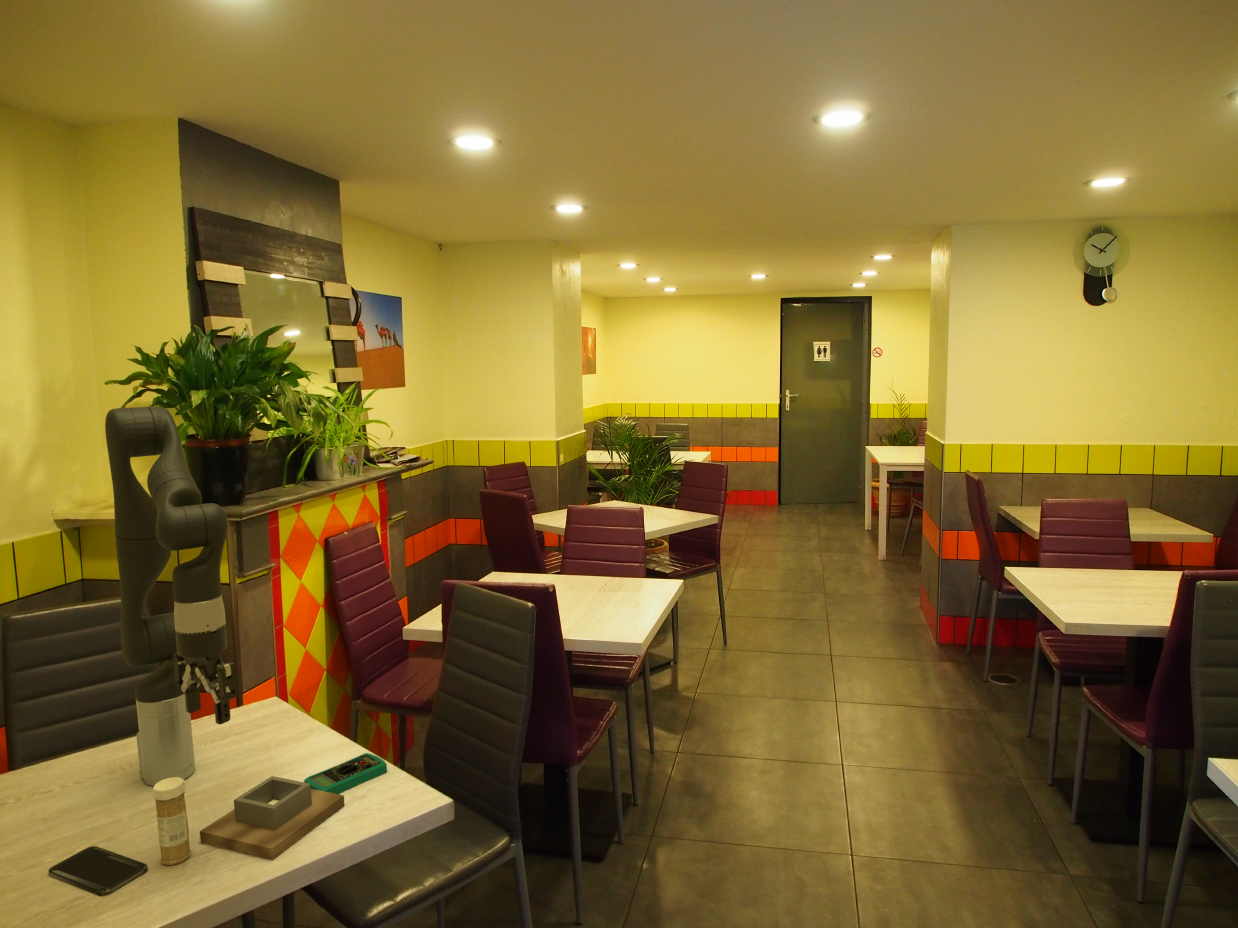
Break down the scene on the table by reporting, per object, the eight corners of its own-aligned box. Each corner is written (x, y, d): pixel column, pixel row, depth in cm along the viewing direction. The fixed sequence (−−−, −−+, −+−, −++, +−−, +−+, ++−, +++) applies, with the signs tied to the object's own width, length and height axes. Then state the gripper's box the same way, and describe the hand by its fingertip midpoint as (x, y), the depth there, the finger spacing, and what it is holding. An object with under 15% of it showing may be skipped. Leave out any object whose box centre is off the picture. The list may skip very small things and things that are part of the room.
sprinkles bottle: (191, 847, 141) (184, 773, 140) (190, 861, 137) (183, 785, 136) (161, 854, 139) (153, 779, 138) (159, 869, 135) (151, 792, 134)
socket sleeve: (235, 821, 146) (233, 799, 145) (273, 795, 154) (271, 775, 154) (275, 830, 142) (273, 808, 142) (311, 804, 151) (310, 783, 150)
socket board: (200, 841, 143) (199, 829, 143) (277, 791, 160) (276, 780, 159) (272, 859, 137) (271, 847, 137) (344, 805, 154) (343, 794, 154)
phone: (103, 893, 128) (45, 869, 135) (104, 899, 129) (45, 876, 135) (151, 864, 135) (93, 844, 142) (151, 871, 136) (93, 850, 142)
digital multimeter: (390, 773, 167) (389, 759, 166) (322, 803, 156) (321, 788, 155) (370, 762, 172) (369, 749, 171) (303, 791, 160) (301, 776, 160)
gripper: (154, 623, 138) (162, 716, 140) (203, 637, 130) (212, 735, 132) (197, 611, 144) (205, 700, 146) (247, 624, 136) (254, 717, 138)
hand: (208, 716), depth 139 cm, fingers open, 8 cm apart
